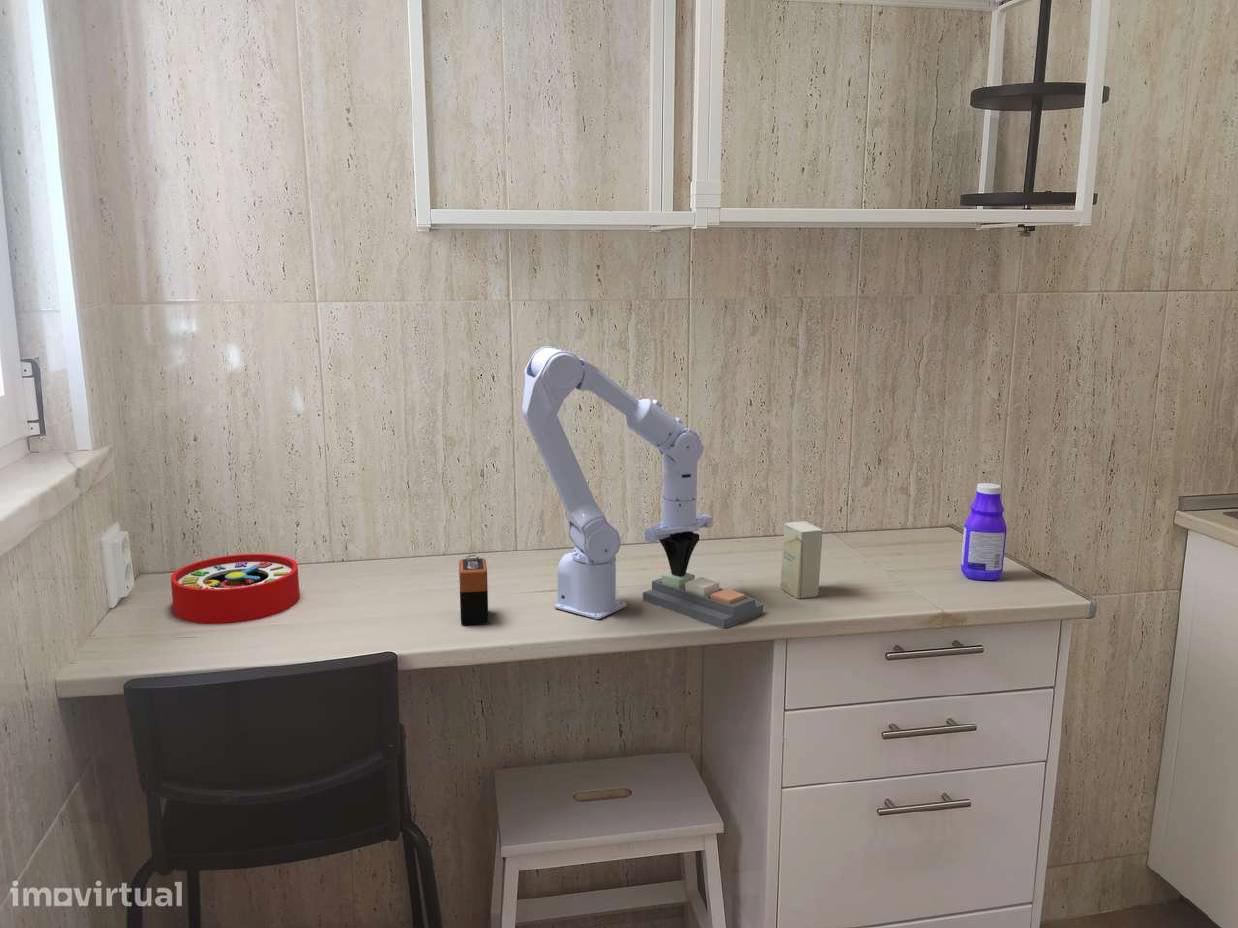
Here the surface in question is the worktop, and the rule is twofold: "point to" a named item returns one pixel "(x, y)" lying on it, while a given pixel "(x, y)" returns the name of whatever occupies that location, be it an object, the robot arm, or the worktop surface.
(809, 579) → the skincare box
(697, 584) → the cream button
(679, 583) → the green button
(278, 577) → the toy clock
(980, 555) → the bottle
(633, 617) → the worktop surface
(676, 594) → the button panel
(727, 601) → the terracotta button
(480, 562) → the battery
